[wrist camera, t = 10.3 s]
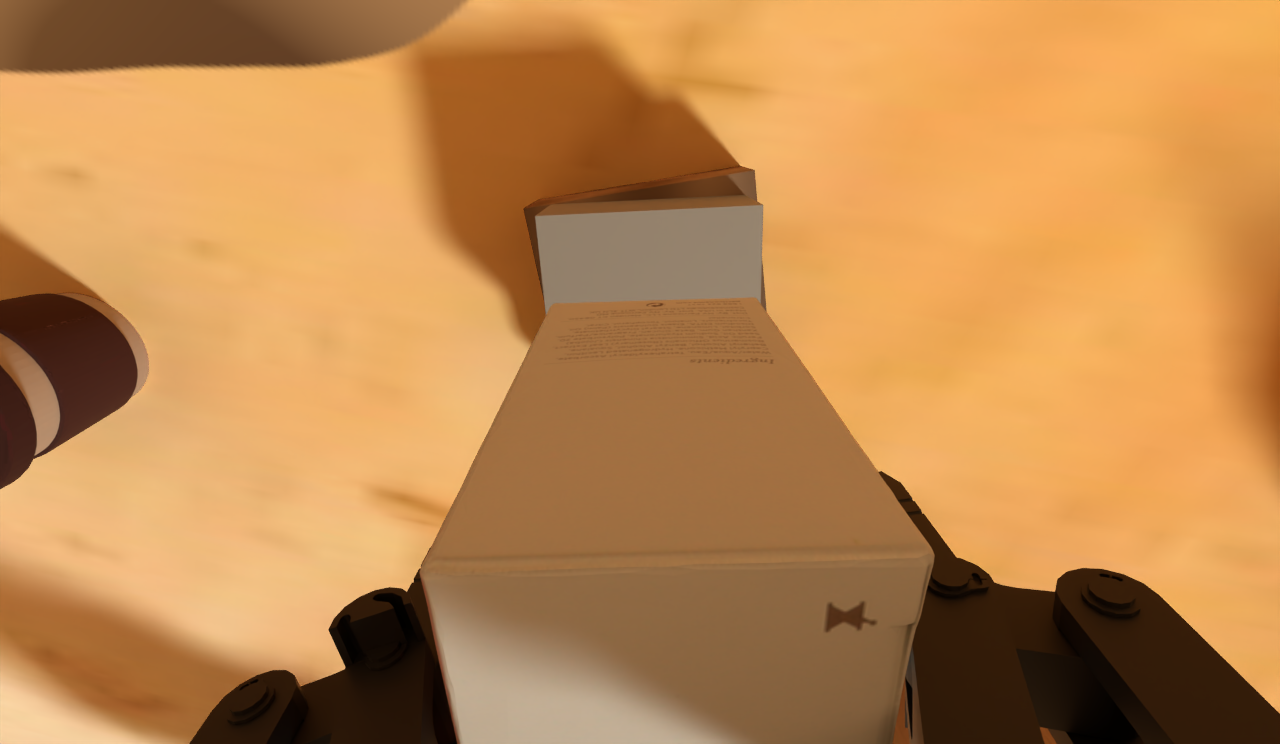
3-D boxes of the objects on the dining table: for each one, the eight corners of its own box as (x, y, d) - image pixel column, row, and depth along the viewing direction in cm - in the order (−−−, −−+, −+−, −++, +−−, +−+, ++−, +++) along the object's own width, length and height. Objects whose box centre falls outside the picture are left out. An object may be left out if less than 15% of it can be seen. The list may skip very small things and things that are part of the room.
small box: (550, 298, 16) (400, 556, 6) (760, 292, 16) (952, 544, 6) (572, 545, 19) (494, 988, 9) (749, 541, 19) (865, 984, 9)
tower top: (568, 382, 34) (557, 420, 30) (551, 204, 31) (535, 216, 26) (741, 375, 34) (757, 412, 30) (744, 194, 31) (763, 204, 26)
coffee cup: (203, 411, 44) (-6, 540, 30) (63, 385, 43) (-217, 504, 29) (194, 281, 40) (-48, 358, 26) (41, 251, 40) (-290, 313, 26)
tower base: (578, 382, 40) (569, 414, 35) (539, 199, 36) (523, 208, 31) (757, 356, 39) (772, 385, 35) (739, 165, 35) (754, 170, 30)
